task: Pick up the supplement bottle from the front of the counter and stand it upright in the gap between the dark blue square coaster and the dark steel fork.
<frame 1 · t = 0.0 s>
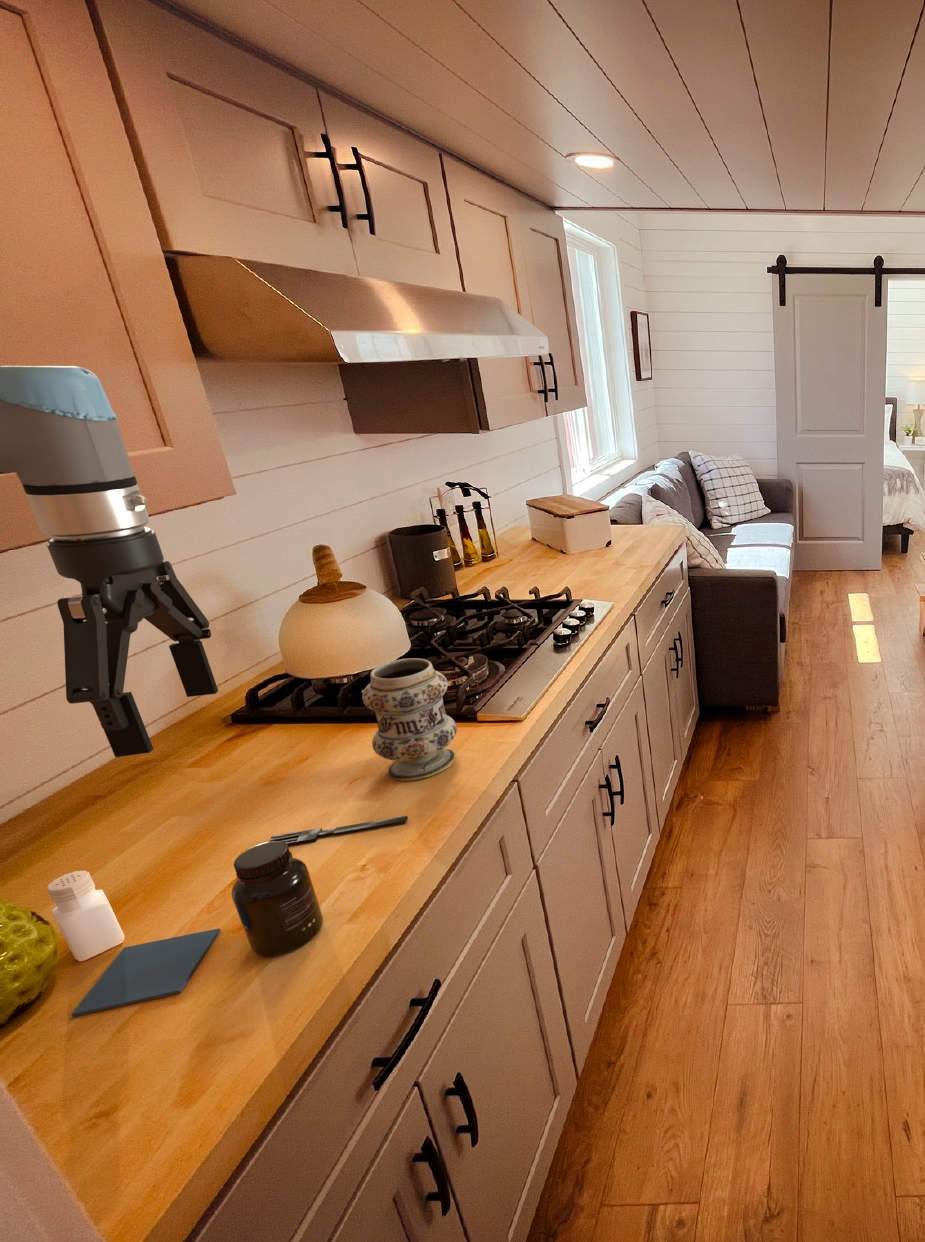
hand: (171, 721, 74), 27 cm above the table, tool pointing down, fingers open, 13 cm apart
dark blue square coaster: (152, 970, 75), on the table
apothecary jar: (423, 765, 114), on the table
supplement bottle: (289, 937, 80), on the table
pepper shaker: (100, 947, 78), on the table
fork: (343, 831, 98), on the table
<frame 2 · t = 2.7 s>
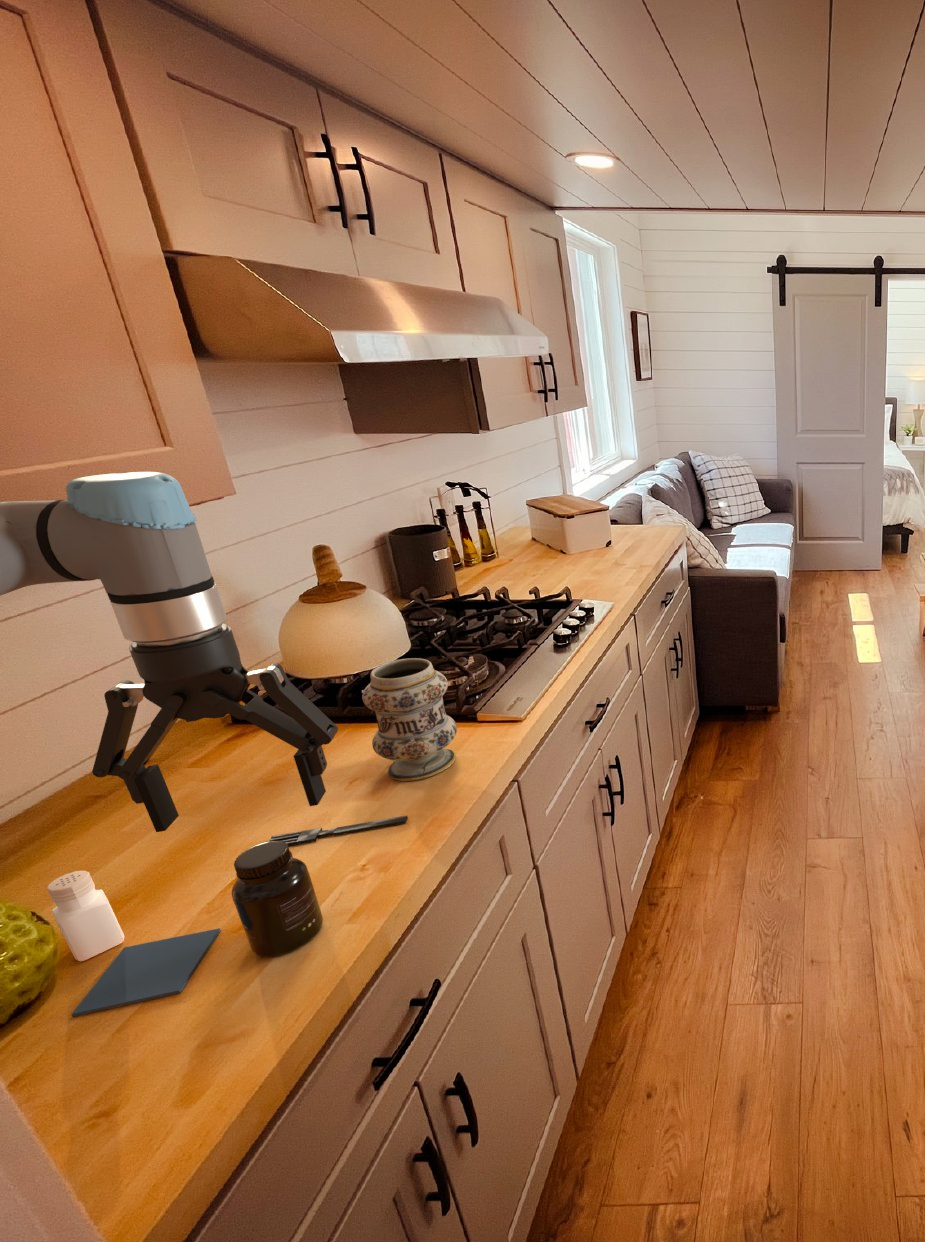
hand: (245, 811, 74), 17 cm above the table, tool pointing down, fingers open, 13 cm apart
nothing on the table moved.
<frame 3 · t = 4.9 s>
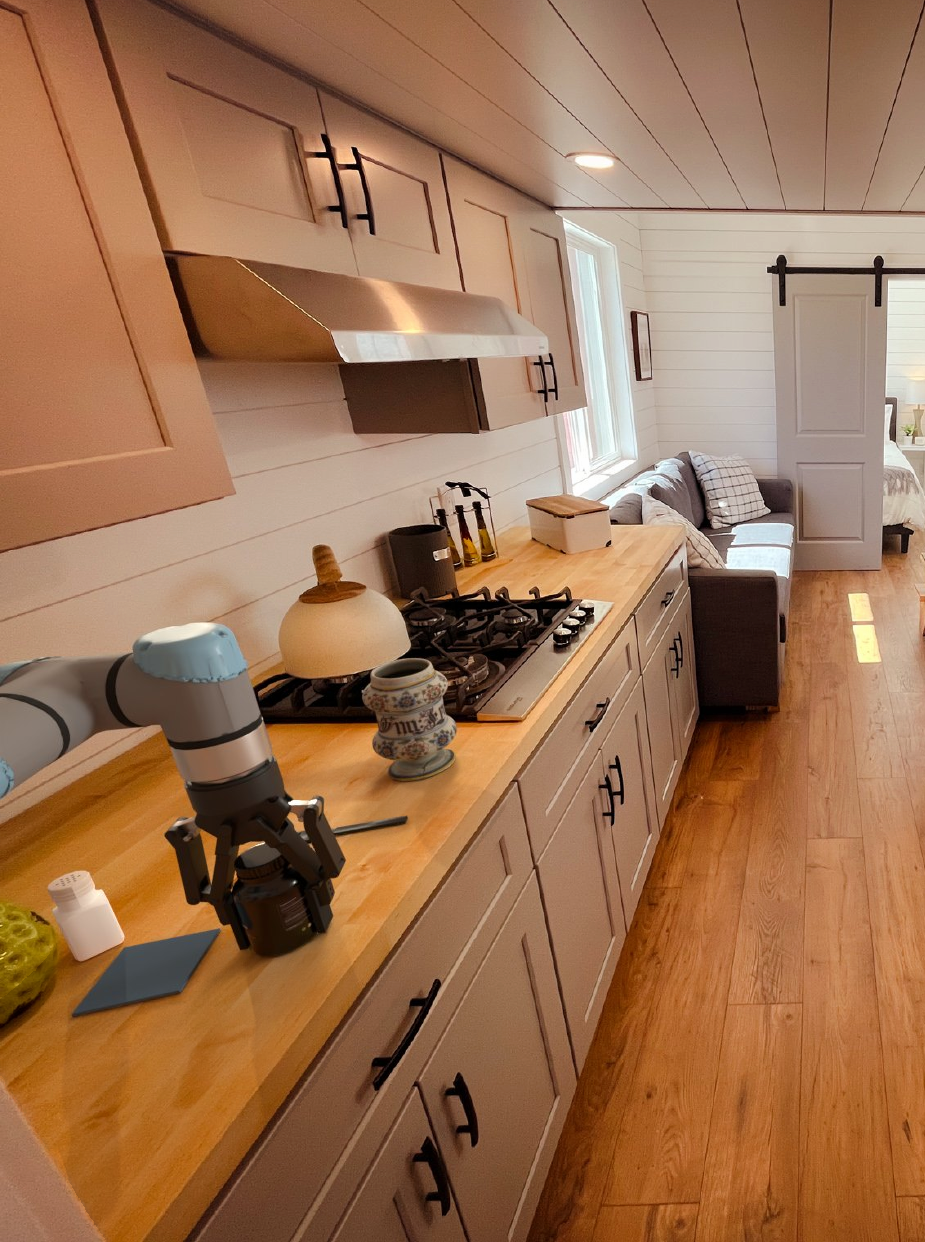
hand: (288, 932, 80), 1 cm above the table, tool pointing down, fingers closed on supplement bottle, 7 cm apart
supplement bottle: (289, 937, 80), on the table, touching gripper
everything else where it was.
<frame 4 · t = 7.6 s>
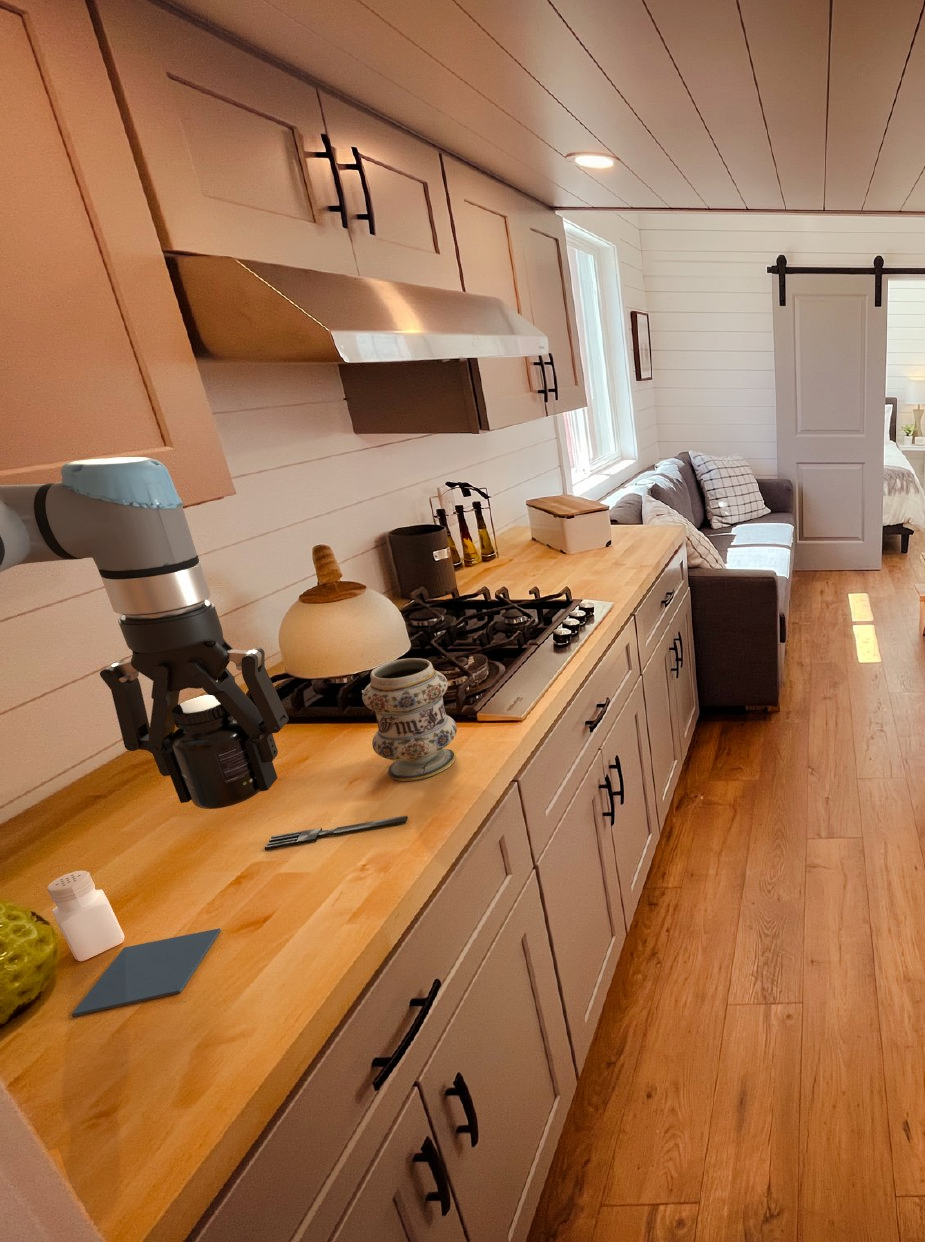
hand: (230, 789, 80), 16 cm above the table, tool pointing down, fingers closed on supplement bottle, 7 cm apart
supplement bottle: (232, 795, 80), point 16 cm above the table, touching gripper
everything else where it was.
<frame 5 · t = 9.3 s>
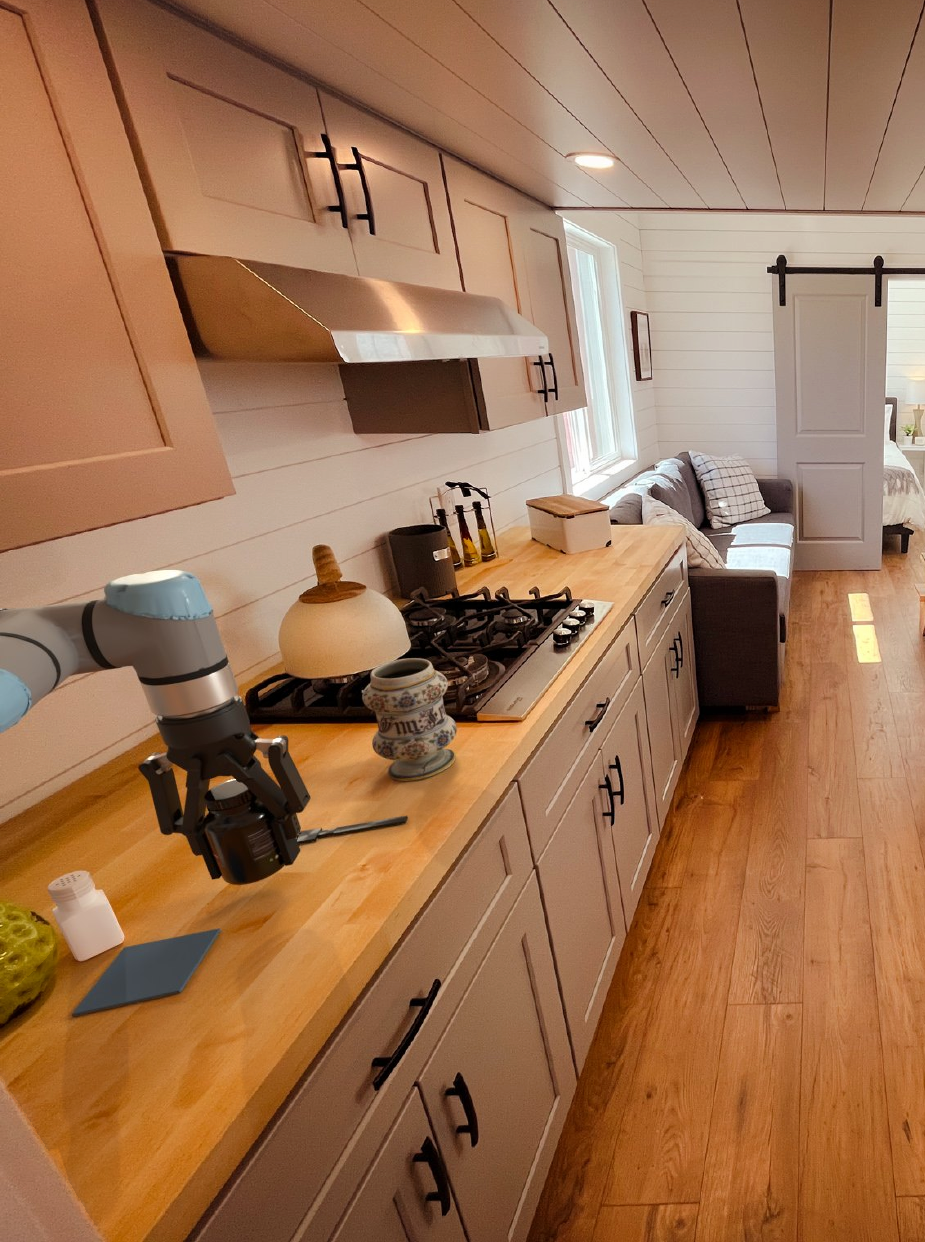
hand: (257, 864, 86), 4 cm above the table, tool pointing down, fingers closed on supplement bottle, 7 cm apart
supplement bottle: (259, 869, 86), point 3 cm above the table, touching gripper
everything else where it was.
when the fingers open (0 cm above the table, at t = 10.5 s): supplement bottle stays where it is, on the table.
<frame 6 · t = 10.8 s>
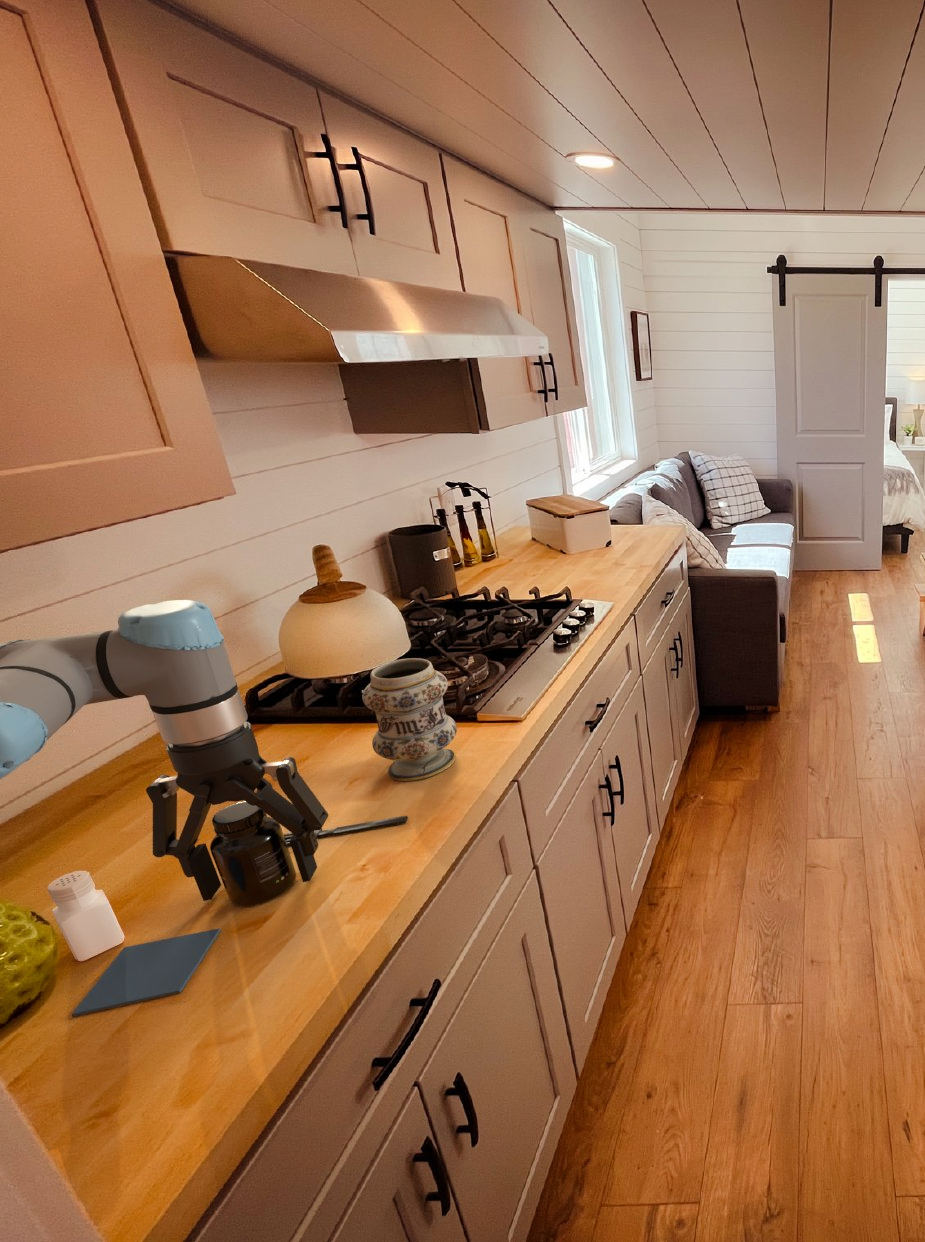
hand: (262, 883, 87), 1 cm above the table, tool pointing down, fingers open, 10 cm apart
supplement bottle: (265, 890, 87), on the table
everything else where it was.
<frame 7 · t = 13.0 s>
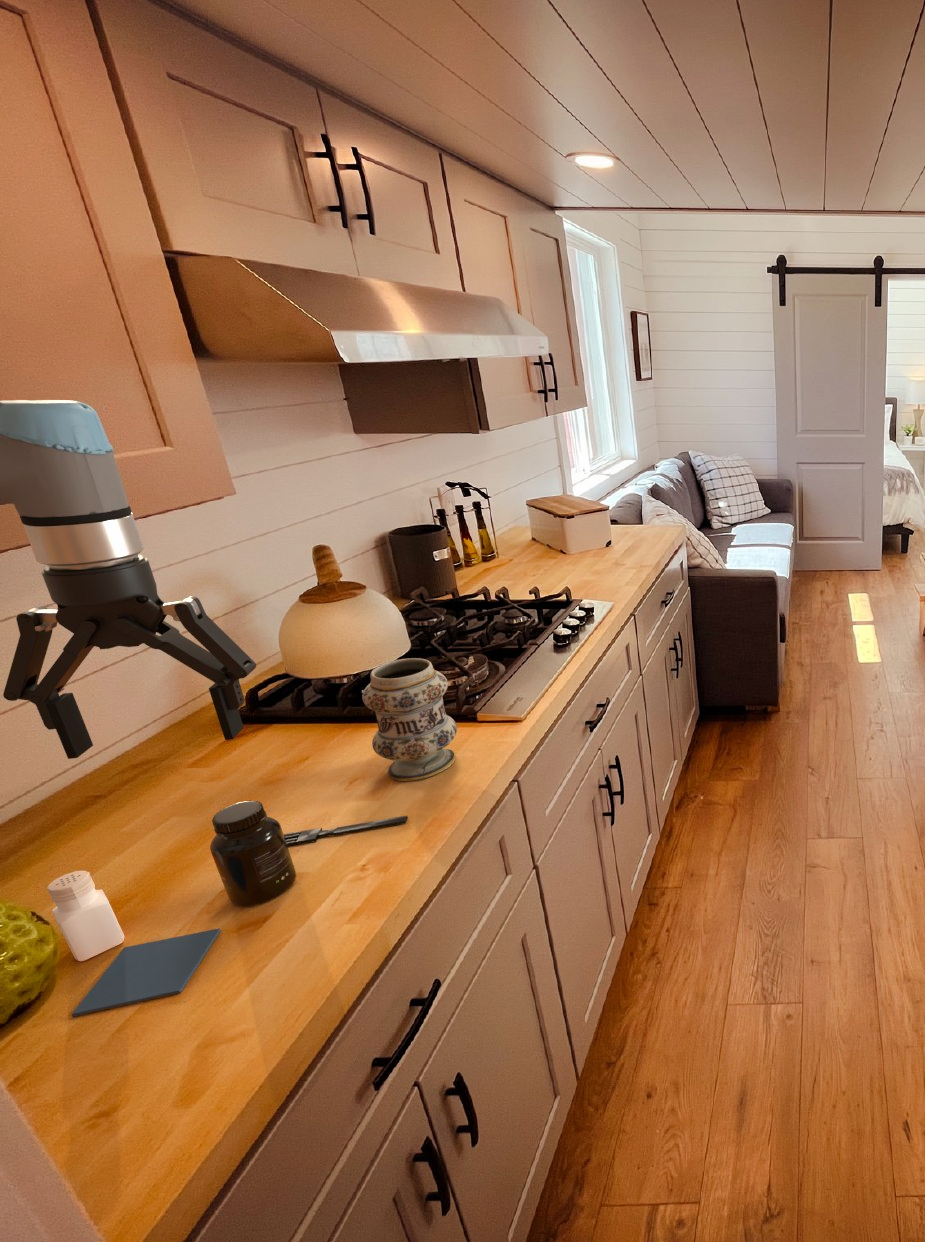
hand: (160, 743, 76), 24 cm above the table, tool pointing down, fingers open, 13 cm apart
nothing on the table moved.
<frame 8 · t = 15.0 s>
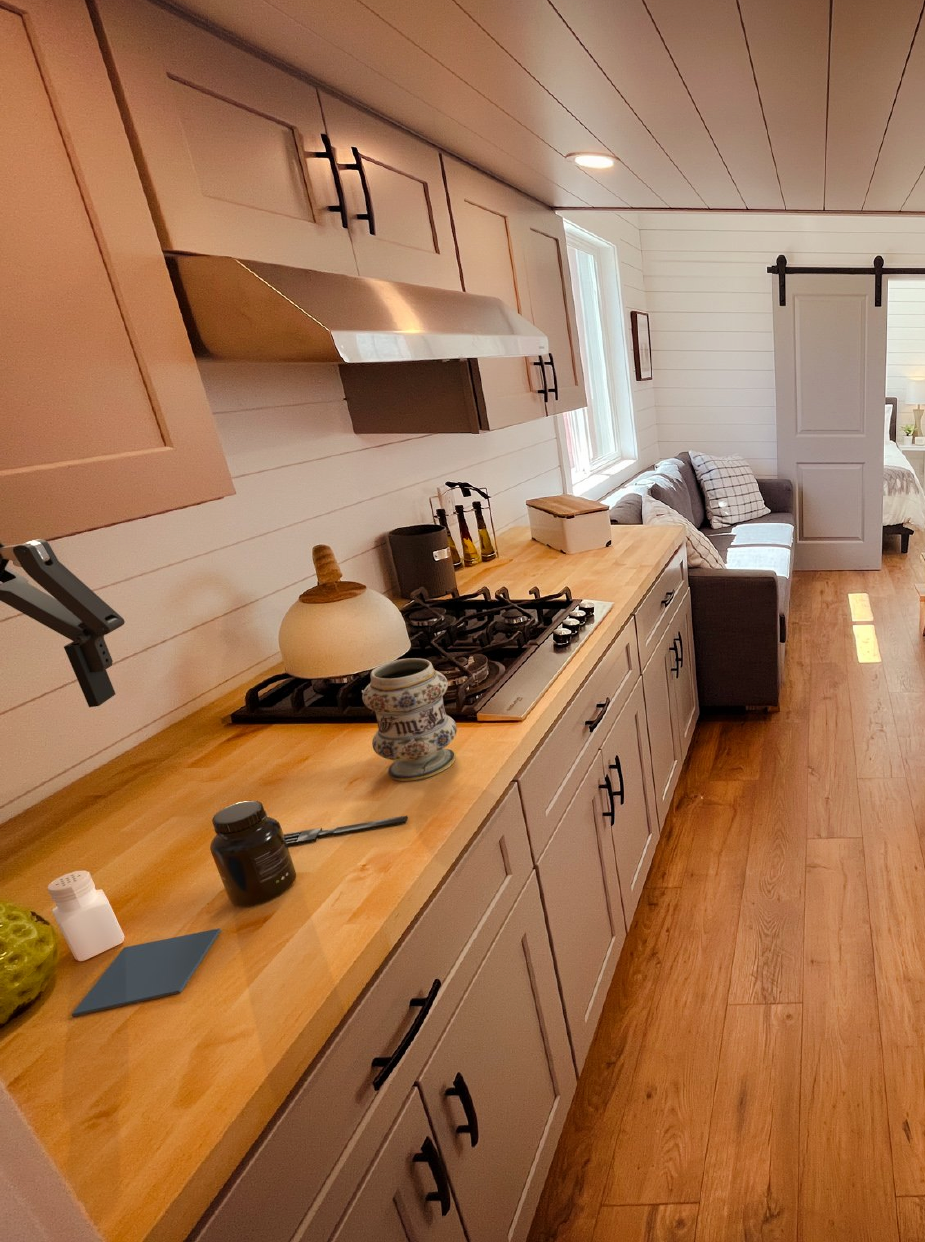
hand: (13, 711, 66), 32 cm above the table, tool pointing down, fingers open, 13 cm apart
nothing on the table moved.
at the end: supplement bottle inside the target area on the table beside the dark blue square coaster (0.0 cm from its centre), on the table; supplement bottle 11.6 cm from the fork (horizontally); supplement bottle tilted 0° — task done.
